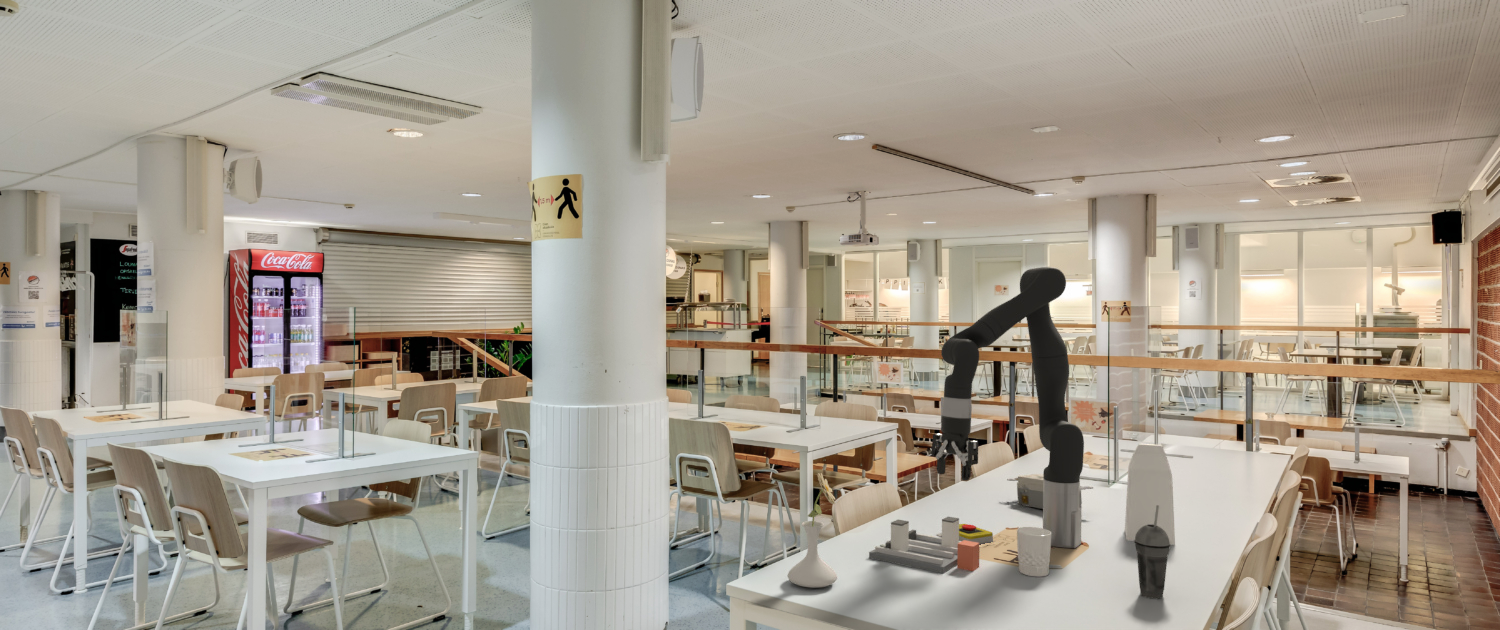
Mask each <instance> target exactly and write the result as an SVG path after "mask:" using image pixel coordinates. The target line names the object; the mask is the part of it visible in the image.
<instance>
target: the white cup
mask: <svg viewBox="0 0 1500 630" xmlns="http://www.w3.org/2000/svg"><path fill="white" fill-rule="evenodd" d="M1016 541H1017V543H1016V546H1017V560H1018V571H1019V572H1020V574H1022V575H1025V576H1029V577H1036V578H1037V577H1038V578H1039V577H1040V578H1041V577H1046V576H1048V575H1049V573H1050V562H1051V561H1050V560H1051V557H1050V556H1051V549H1052V548H1051V547H1052V546H1051V532H1050V531H1049V530H1046V529H1043V527H1034V526H1023V527H1018V528H1017V529H1016Z"/></svg>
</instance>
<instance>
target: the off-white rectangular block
mask: <svg viewBox="0 0 1500 630" xmlns="http://www.w3.org/2000/svg"><path fill="white" fill-rule="evenodd" d="M959 524H960V518H959V517H954V516H946V517H945V518H942V519H941V533H942V537H941V538H942V546H948V547H953V548H957V547H958V543H959Z"/></svg>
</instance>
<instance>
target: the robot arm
mask: <svg viewBox="0 0 1500 630" xmlns="http://www.w3.org/2000/svg"><path fill="white" fill-rule="evenodd" d="M1019 280H1020V281H1019V291H1020V293H1018V294H1017V295H1016V296H1014V297H1013V298H1011V299H1009V300H1007V301H1005V302H1003V303H1001V304H999V305H998V306H996V307H994V308H992V309H991V310H990V311H988V312H987V313H985V314H984V315H983V316H981V317H980V318H979V319H978V320H977V321H975V322H974V323H973V324H972V325H970V326H968V327H966V328H964V329H962V330H961V331H959V332H957V333H956V334H954V335H952V336H950V337H949V338H948V339H947V340H946V341H945V342H944V344H943V345H942V348H941V351H940V352H941V357H942V359H943V361H944V362H946V363H947V364H948V365H952V366H953V369H952V373H951V374H949V375H947V376H946V377H945V379H944V385H943V386H944V389H943V390H944V391H943V400H942V405H941V419H940V421H941V423H940V432H942V433H934V434H932V442H931V443H932V444H931V453H930V455H931V456H932V457H935V459H936V472H937V474H938V475H946V467H947V465H946V463H947V462H946V461H947V460H946V458H947V457H948V455H950V454H953V455H954V456H957V458H958V459H960V462H961V464H962V465H961V474H960V475H961V478H960V480H961V481H969V480H970V478H971V471H972V466H973V465H978V464H979V441H978V440H970V439H969V435H970V434H971V430H972V429H971V428H972V426H971V425H972V424H971V423H972V410H973V406H972V405H973V403H972V396H973V395H972V393H973V390H972V389H973V381H974V378H975V375H976V373H977V368H978V365H979V361H980V351H979V350H980V349H982V348H986V347H989V346H991V345H992V344H994V342H996V341H997V340H998V339H999V338H1001V337H1002V336H1003V335H1004V334H1006V333H1007V332H1008V331H1010V329H1012V328H1013V327H1014V326H1015V325H1017V324H1019V323H1020V322H1021V321H1023V320H1024V319H1026V322H1027V323H1026V324H1027V330H1028V337H1029V344H1030V353H1031V361H1032V362H1031V363H1032V368H1033V375H1034V381H1035V391H1036V397H1037V401H1038V402H1037V404H1038V428H1039V429H1038V430H1039V431H1038V432H1039V433H1038V434H1039V440H1040V442H1041V444H1042V447H1044V448H1045V449H1046V451H1048V452H1049V461H1048V465H1047V466H1046V467H1045V468H1044V469H1043V474H1042V475H1043V478H1044V479H1043V509H1042V529H1046V530H1049V531H1050V532H1051V547H1058V548H1067V549H1068V548H1069V549H1070V548H1072V549H1076V548H1078V547H1079V546H1080V545H1081V544H1082V509H1081V508H1079V485H1080V486H1081V483H1080V481H1081V479H1080V477H1081V474H1082V473H1083V472H1082V471H1083V468H1084V453H1085V452H1084V451H1085V441H1084V434H1083V432H1082V430H1081V429H1080V427H1079V426H1078V425H1076V424H1074V423H1072V422H1069V420H1068V415H1067V408H1066V399H1065V398H1066V393H1067V387H1068V383H1069V378H1070V365H1069V356H1068V349H1067V347H1066V344H1065V343H1066V342H1064V339H1063V338H1062V336H1061V333H1060V332H1059V330H1058V329H1057V327H1056V326H1055V323H1054V322H1053V319H1052V315H1051V311H1050V304H1049V303H1052V301H1054V300H1057V299H1058V298H1060V297H1061V296H1062V295H1063V293H1064V291H1065V290H1066V286H1067V278H1066V276H1065V274H1064V273H1063V272H1062V270H1060V269H1059V268H1058V267H1054V266H1044V267H1043V266H1042V267H1034V268H1029V269H1027V270H1025V271H1024V272H1023V273H1022V275H1021V277H1020V279H1019Z"/></svg>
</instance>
